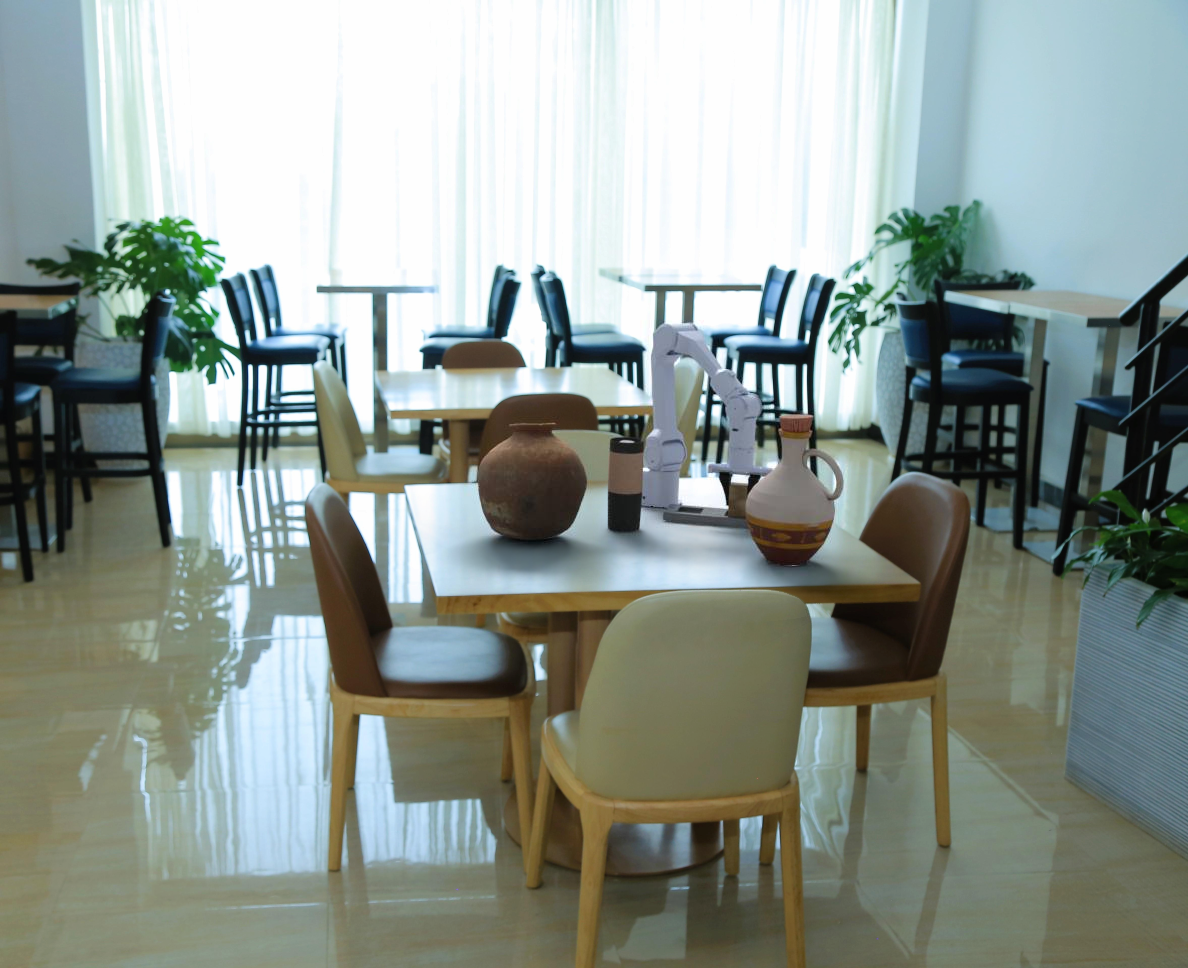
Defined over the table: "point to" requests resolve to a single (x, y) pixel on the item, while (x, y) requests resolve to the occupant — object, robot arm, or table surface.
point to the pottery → (531, 484)
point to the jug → (793, 500)
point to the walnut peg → (737, 499)
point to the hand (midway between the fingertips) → (738, 505)
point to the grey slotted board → (703, 516)
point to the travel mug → (625, 484)
